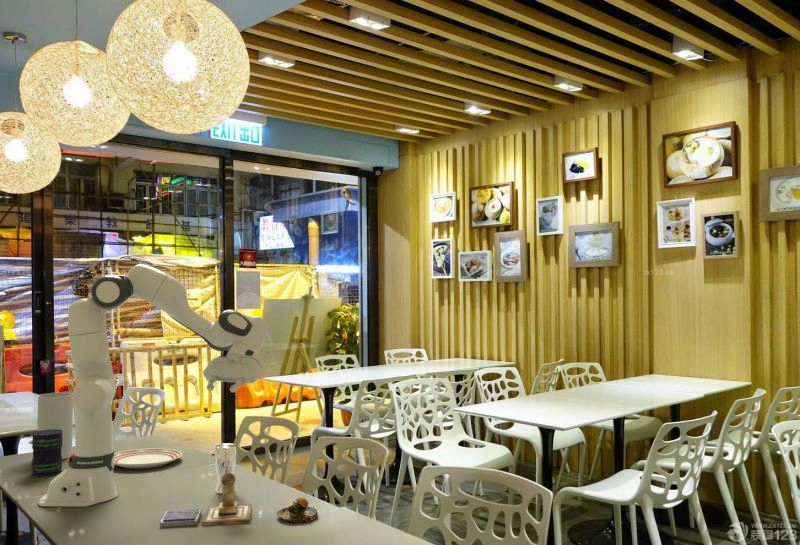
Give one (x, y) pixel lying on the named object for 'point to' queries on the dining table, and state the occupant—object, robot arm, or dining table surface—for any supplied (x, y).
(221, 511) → the stamp
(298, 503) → the plate of salad
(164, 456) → the dinner plate
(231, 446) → the beer glass
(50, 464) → the storage jar
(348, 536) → the dining table surface
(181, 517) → the ink pad
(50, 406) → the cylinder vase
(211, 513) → the board
